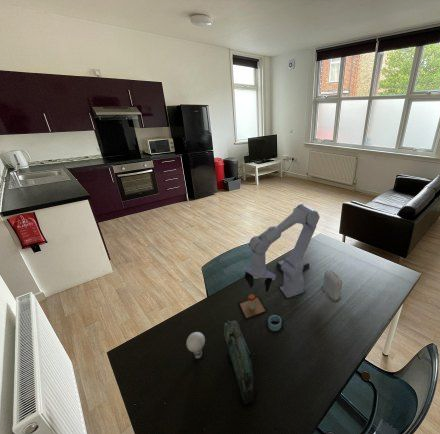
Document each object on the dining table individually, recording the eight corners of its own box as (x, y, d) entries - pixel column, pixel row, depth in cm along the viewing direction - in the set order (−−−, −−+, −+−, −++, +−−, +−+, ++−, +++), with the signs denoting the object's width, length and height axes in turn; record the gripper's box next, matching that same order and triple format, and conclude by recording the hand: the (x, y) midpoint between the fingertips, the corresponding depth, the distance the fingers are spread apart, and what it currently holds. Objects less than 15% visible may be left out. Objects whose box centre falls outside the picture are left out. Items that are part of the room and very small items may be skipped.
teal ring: (277, 318, 103) (277, 313, 101) (283, 328, 98) (283, 323, 97) (266, 322, 101) (266, 317, 99) (271, 333, 96) (271, 327, 95)
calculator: (309, 262, 132) (289, 271, 124) (309, 269, 134) (288, 278, 126) (297, 253, 140) (276, 261, 132) (296, 259, 142) (276, 267, 134)
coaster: (257, 297, 113) (257, 297, 113) (265, 311, 106) (265, 310, 106) (239, 304, 110) (239, 303, 110) (246, 318, 102) (246, 317, 102)
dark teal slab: (225, 352, 88) (220, 313, 80) (242, 346, 91) (239, 307, 82) (240, 409, 72) (236, 368, 63) (260, 400, 74) (259, 359, 66)
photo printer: (340, 298, 113) (344, 278, 108) (333, 301, 111) (336, 280, 106) (328, 285, 121) (331, 265, 116) (321, 287, 120) (323, 267, 115)
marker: (253, 304, 109) (253, 293, 107) (256, 308, 107) (255, 297, 104) (248, 306, 108) (247, 295, 105) (250, 310, 106) (249, 299, 103)
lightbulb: (198, 368, 83) (193, 347, 78) (185, 358, 86) (180, 338, 81) (211, 353, 88) (207, 333, 83) (199, 345, 91) (195, 325, 86)
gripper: (238, 264, 99) (240, 290, 105) (271, 273, 94) (271, 298, 100) (246, 255, 105) (248, 280, 111) (277, 263, 100) (277, 287, 106)
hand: (259, 288), depth 106 cm, fingers open, 7 cm apart
